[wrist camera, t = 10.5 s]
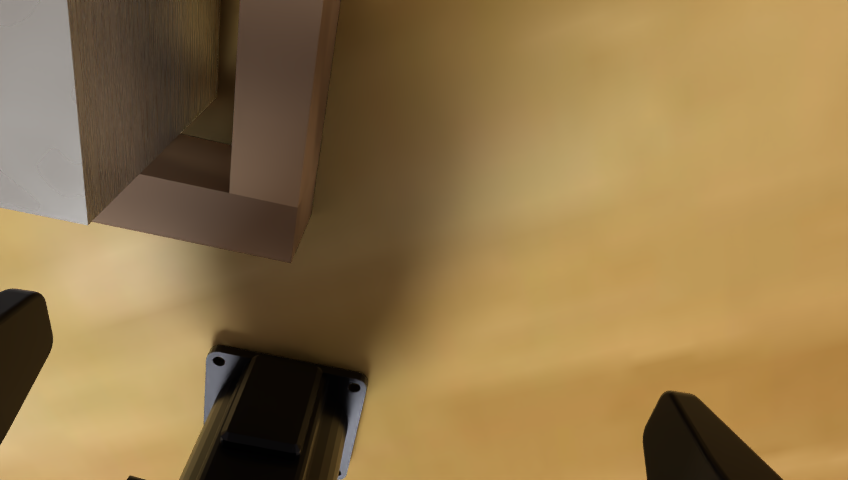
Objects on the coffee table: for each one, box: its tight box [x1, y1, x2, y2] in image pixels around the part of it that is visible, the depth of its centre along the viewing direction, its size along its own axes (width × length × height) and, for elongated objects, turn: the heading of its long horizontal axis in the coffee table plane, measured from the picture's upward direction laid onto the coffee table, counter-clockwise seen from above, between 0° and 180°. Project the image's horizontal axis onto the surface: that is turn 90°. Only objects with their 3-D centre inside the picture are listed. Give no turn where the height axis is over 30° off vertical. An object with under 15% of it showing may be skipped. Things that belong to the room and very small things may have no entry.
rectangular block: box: [0, 0, 220, 225], centre depth 15 cm, size 5×5×8 cm
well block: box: [92, 0, 341, 263], centre depth 17 cm, size 12×12×3 cm
